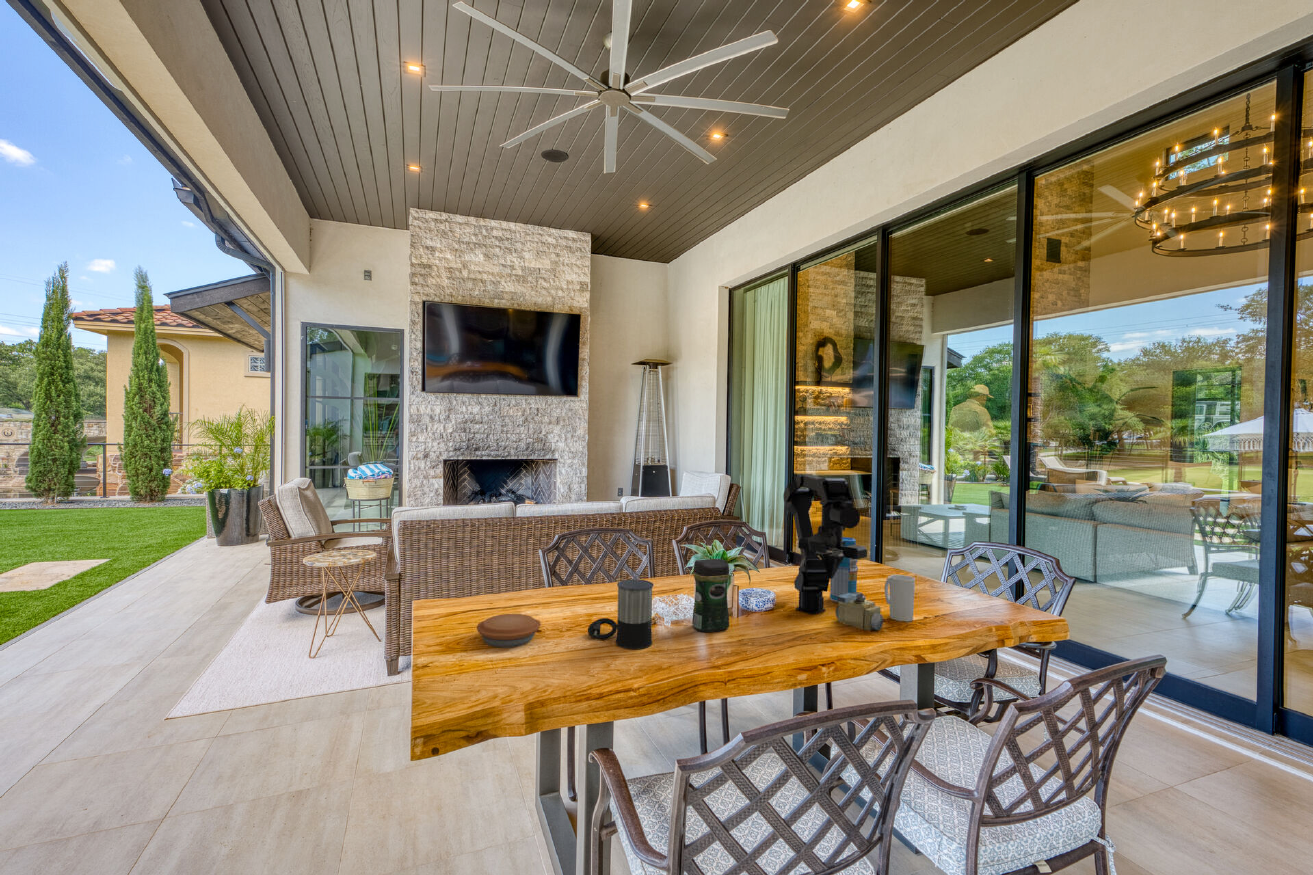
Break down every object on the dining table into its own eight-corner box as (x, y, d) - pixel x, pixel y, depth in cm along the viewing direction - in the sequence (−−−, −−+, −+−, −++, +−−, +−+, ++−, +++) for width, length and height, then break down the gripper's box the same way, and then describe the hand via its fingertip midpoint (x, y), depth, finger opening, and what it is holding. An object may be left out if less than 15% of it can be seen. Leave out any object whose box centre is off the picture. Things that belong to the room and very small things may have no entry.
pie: (517, 655, 133) (518, 633, 133) (462, 645, 138) (463, 624, 138) (552, 634, 147) (552, 614, 147) (501, 626, 153) (501, 607, 153)
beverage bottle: (831, 603, 181) (832, 540, 181) (827, 596, 190) (829, 535, 190) (859, 605, 180) (860, 541, 180) (854, 597, 188) (855, 537, 188)
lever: (835, 604, 156) (835, 595, 156) (857, 598, 163) (857, 589, 163) (846, 607, 153) (846, 598, 153) (867, 600, 161) (867, 592, 161)
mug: (919, 620, 165) (920, 579, 165) (901, 623, 163) (902, 581, 163) (893, 610, 175) (894, 571, 175) (875, 612, 172) (876, 572, 172)
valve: (833, 620, 163) (834, 598, 163) (845, 617, 167) (846, 594, 167) (873, 632, 154) (873, 608, 154) (884, 628, 158) (885, 604, 158)
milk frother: (655, 649, 138) (656, 588, 138) (589, 651, 136) (591, 589, 136) (646, 629, 152) (648, 574, 152) (587, 631, 150) (588, 574, 150)
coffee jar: (719, 621, 160) (720, 555, 160) (733, 630, 153) (734, 561, 153) (687, 624, 157) (689, 557, 157) (700, 634, 150) (702, 563, 150)
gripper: (786, 520, 162) (785, 575, 162) (846, 529, 148) (844, 590, 148) (810, 517, 169) (808, 570, 169) (868, 526, 155) (867, 583, 155)
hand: (830, 578), depth 160 cm, fingers closed
